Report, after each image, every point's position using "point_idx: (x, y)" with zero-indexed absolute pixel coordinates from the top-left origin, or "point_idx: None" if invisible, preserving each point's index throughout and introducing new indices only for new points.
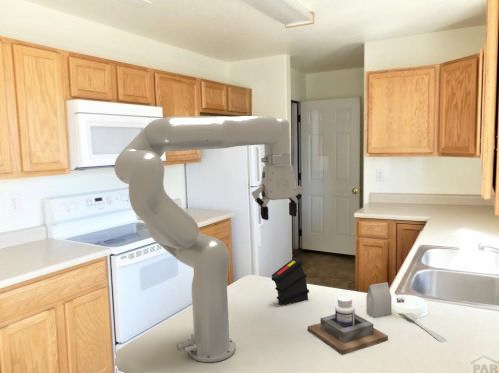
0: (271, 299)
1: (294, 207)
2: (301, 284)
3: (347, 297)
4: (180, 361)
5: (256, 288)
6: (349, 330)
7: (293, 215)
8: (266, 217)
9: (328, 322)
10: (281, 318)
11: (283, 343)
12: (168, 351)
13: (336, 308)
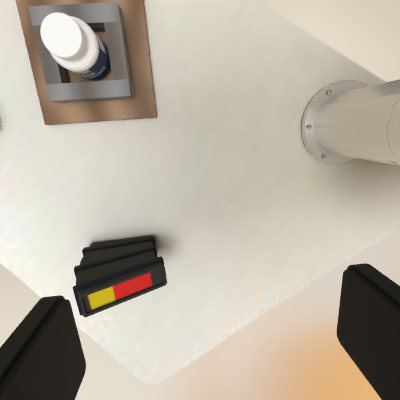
0: None
1: (4, 378)
2: (96, 257)
3: (49, 37)
4: None
5: (166, 327)
6: (99, 5)
7: (69, 310)
8: (381, 274)
9: (124, 66)
10: (179, 186)
11: (221, 90)
12: None
13: (96, 48)
